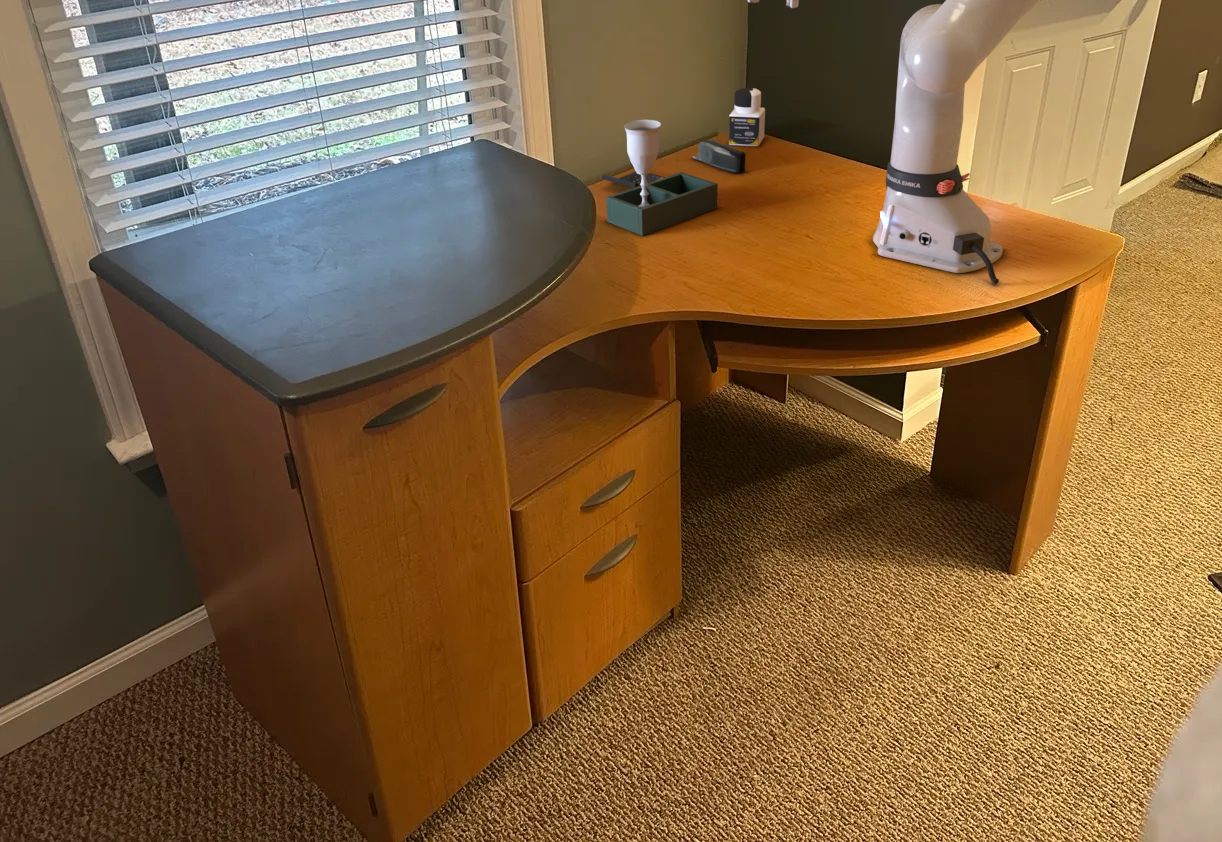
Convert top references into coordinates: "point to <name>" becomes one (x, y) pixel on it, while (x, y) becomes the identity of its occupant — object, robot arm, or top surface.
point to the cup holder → (662, 203)
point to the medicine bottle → (747, 118)
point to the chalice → (643, 149)
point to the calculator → (632, 179)
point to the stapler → (721, 156)
